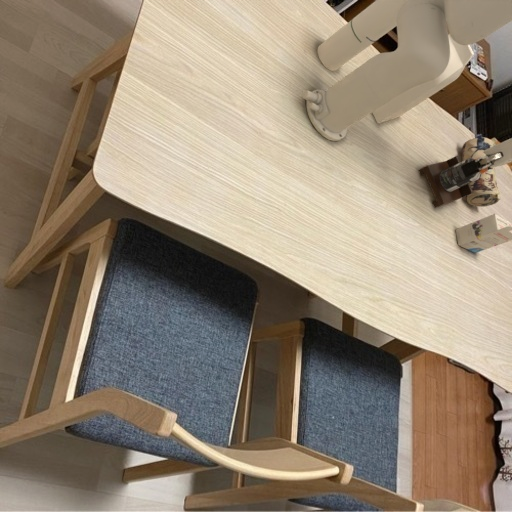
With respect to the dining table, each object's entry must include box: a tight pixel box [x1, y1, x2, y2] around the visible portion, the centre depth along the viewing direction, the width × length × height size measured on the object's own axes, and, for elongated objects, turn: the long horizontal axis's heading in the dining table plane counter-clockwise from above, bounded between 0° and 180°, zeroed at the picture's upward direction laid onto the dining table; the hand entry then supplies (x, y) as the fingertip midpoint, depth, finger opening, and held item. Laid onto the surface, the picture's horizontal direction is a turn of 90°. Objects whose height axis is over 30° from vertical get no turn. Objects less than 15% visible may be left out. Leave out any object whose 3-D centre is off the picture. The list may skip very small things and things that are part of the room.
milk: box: [371, 33, 475, 124], centre depth 140 cm, size 12×12×26 cm
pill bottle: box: [440, 157, 488, 192], centre depth 149 cm, size 6×6×11 cm
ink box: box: [455, 213, 512, 254], centre depth 151 cm, size 8×5×15 cm, turn 89°
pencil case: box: [461, 133, 501, 208], centre depth 165 cm, size 22×8×10 cm, turn 173°
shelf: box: [418, 155, 473, 209], centre depth 153 cm, size 12×11×6 cm
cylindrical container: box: [316, 0, 407, 72], centre depth 131 cm, size 7×7×25 cm
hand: (471, 169), depth 147 cm, fingers open, 9 cm apart
